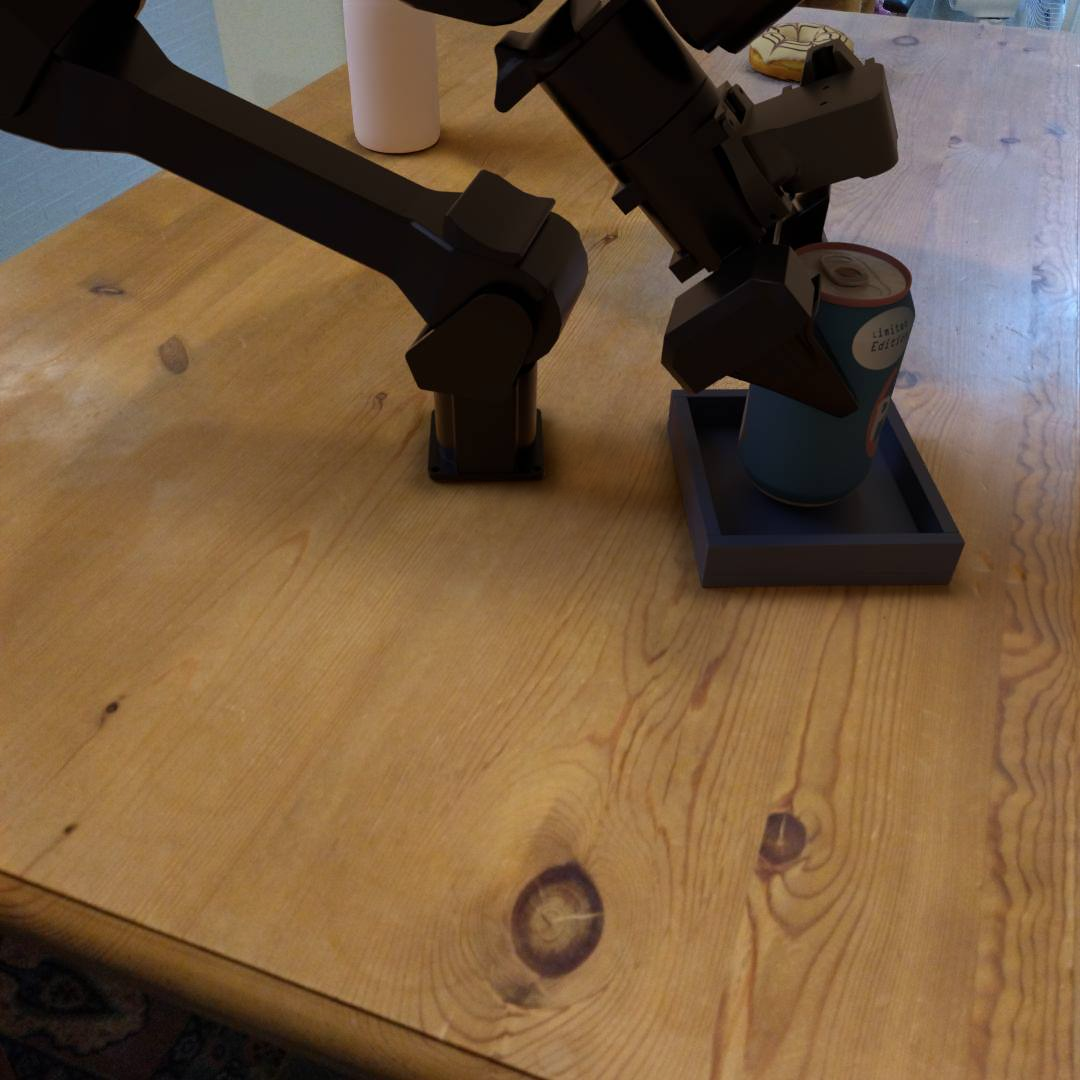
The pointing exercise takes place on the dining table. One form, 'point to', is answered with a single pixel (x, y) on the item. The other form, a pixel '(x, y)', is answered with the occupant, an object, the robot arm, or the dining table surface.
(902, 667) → the dining table surface
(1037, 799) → the dining table surface
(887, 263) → the soda can
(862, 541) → the tray
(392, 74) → the milk bottle
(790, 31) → the decorated donut
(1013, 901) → the dining table surface
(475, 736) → the dining table surface
